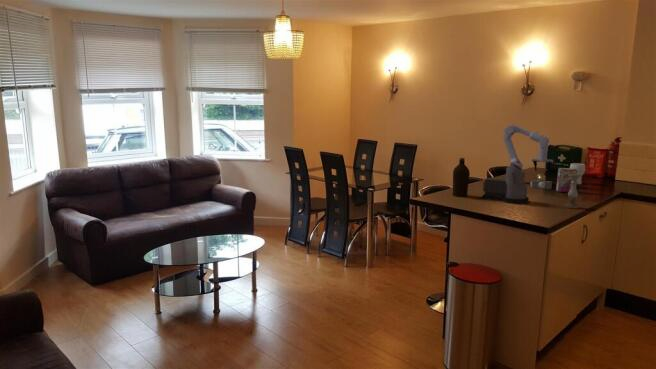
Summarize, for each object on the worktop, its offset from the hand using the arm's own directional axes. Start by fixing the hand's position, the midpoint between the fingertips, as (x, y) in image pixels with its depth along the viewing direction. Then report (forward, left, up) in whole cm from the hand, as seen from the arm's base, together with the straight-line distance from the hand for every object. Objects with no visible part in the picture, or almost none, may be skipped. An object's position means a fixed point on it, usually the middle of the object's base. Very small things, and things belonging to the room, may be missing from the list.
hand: (541, 171), depth 375 cm
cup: (+27, +20, -11) cm, 35 cm away
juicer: (-25, -64, -11) cm, 70 cm away
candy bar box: (+15, -19, -11) cm, 26 cm away
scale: (0, -5, -10) cm, 12 cm away
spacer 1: (0, +1, -7) cm, 7 cm away
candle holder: (+12, -70, -11) cm, 72 cm away
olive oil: (-54, -61, -11) cm, 82 cm away
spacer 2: (0, -6, -8) cm, 9 cm away
